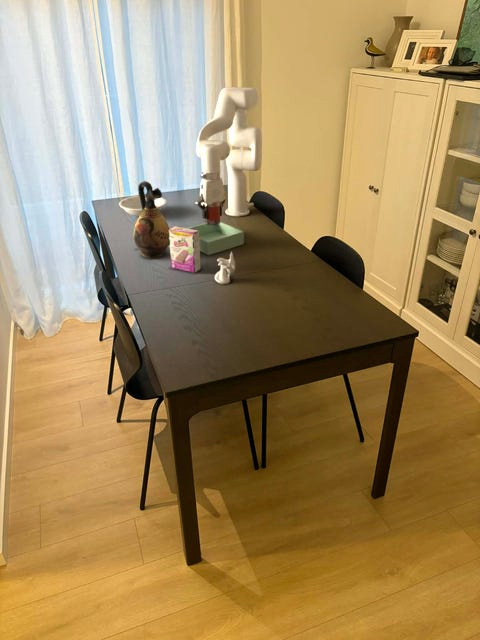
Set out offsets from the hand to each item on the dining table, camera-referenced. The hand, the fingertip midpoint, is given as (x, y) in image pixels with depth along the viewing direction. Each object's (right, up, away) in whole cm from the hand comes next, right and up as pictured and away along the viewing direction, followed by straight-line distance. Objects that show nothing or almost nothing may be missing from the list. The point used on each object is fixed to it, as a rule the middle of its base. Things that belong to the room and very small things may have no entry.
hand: (212, 216), depth 213 cm
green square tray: (0, -10, +6) cm, 12 cm away
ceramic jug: (-25, -17, -4) cm, 31 cm away
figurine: (+7, -31, -28) cm, 42 cm away
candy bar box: (-10, -25, -17) cm, 32 cm away
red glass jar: (0, -2, +1) cm, 3 cm away
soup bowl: (-37, +9, +39) cm, 55 cm away
